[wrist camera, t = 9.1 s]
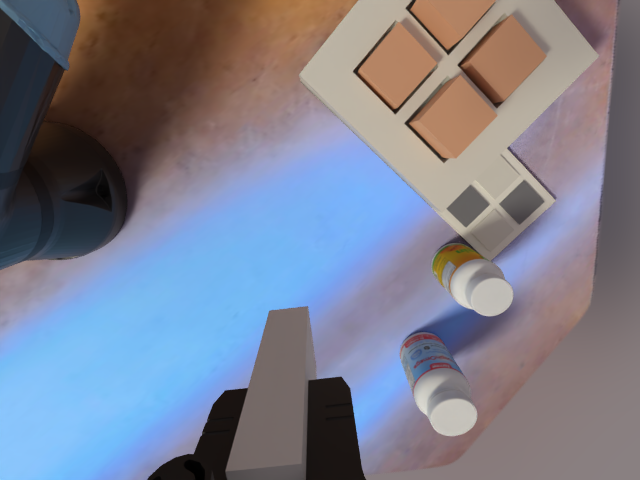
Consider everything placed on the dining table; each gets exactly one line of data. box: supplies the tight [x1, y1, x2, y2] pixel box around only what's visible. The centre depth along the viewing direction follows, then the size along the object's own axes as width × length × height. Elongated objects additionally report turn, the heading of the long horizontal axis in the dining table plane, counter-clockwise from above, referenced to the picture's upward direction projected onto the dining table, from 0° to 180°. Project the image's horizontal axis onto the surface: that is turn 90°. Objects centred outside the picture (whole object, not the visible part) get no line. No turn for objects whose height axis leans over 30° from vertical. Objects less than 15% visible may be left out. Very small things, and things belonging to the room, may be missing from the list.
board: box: [299, 0, 599, 213], centre depth 33 cm, size 20×20×4 cm
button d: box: [356, 22, 437, 111], centre depth 32 cm, size 5×5×3 cm
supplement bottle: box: [431, 243, 513, 316], centre depth 35 cm, size 5×5×10 cm
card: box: [431, 149, 556, 261], centre depth 38 cm, size 10×10×1 cm
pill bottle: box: [400, 332, 477, 436], centre depth 38 cm, size 6×6×11 cm
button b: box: [409, 75, 498, 158], centre depth 31 cm, size 5×5×3 cm
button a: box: [458, 14, 547, 104], centre depth 32 cm, size 5×5×3 cm
